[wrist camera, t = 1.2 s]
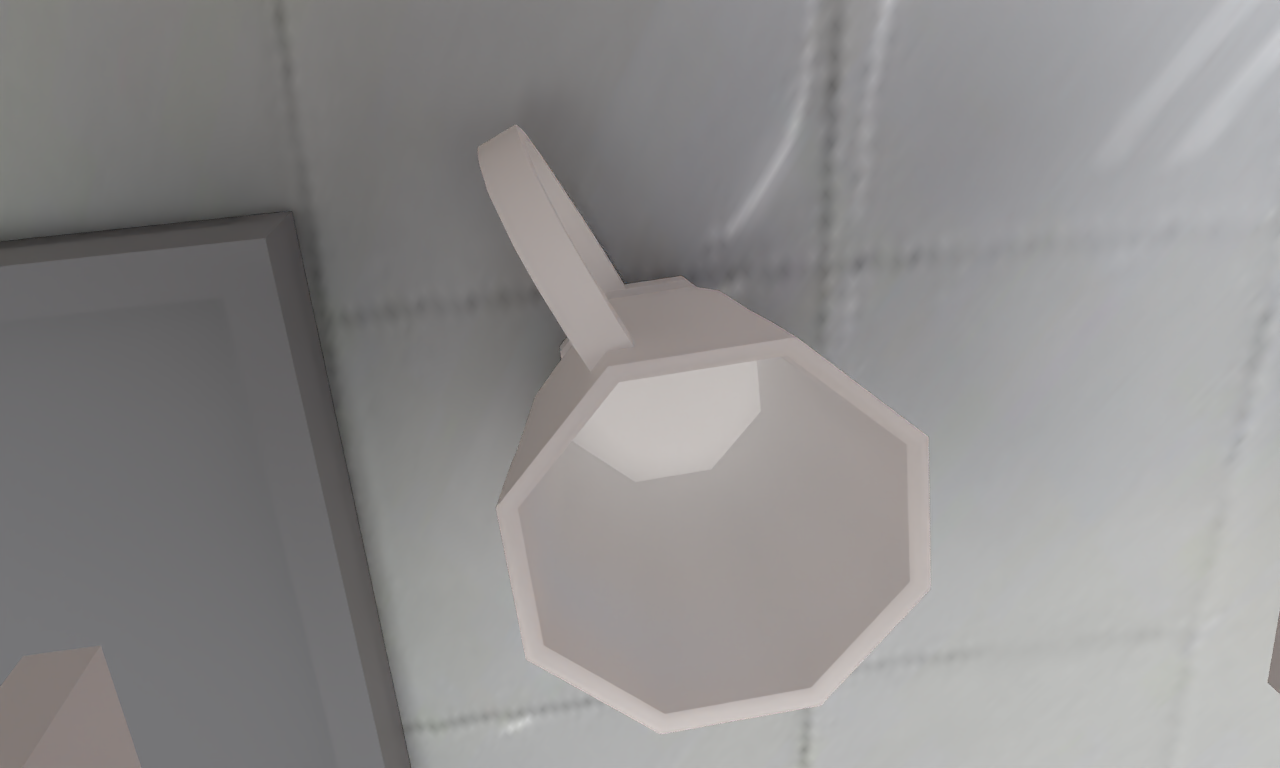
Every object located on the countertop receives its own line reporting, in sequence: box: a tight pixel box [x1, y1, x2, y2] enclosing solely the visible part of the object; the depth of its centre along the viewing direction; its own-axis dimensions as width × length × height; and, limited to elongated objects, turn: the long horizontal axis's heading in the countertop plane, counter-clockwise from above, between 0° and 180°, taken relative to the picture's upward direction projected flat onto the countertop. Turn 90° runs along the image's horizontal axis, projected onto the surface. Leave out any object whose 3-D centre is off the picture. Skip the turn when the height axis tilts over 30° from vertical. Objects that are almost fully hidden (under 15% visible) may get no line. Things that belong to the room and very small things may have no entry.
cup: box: [477, 124, 931, 734], centre depth 18 cm, size 7×10×8 cm
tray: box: [0, 211, 411, 768], centre depth 23 cm, size 20×15×2 cm
